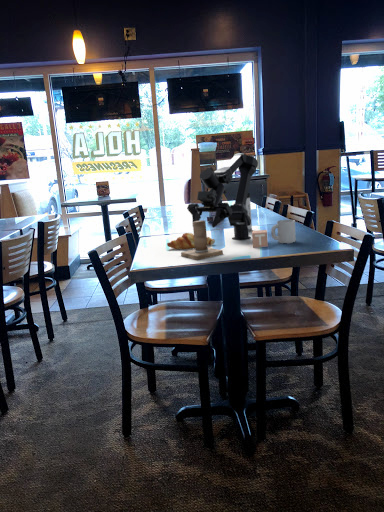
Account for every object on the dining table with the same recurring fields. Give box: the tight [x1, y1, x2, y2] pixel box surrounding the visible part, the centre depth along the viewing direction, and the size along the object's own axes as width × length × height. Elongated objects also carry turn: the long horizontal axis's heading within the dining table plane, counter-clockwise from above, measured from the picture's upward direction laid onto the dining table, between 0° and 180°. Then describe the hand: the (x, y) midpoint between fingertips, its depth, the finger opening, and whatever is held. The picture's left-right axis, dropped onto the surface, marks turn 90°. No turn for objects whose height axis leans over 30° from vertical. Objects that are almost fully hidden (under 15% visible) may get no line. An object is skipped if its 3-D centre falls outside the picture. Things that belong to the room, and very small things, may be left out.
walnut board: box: [180, 247, 224, 261], centre depth 164 cm, size 12×12×2 cm
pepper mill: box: [192, 219, 209, 253], centre depth 163 cm, size 5×5×12 cm
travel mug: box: [236, 191, 253, 232], centre depth 209 cm, size 6×7×20 cm
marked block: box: [251, 229, 269, 248], centre depth 171 cm, size 6×6×6 cm
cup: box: [270, 219, 297, 244], centre depth 173 cm, size 7×10×9 cm
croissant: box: [166, 232, 216, 250], centre depth 182 cm, size 21×10×8 cm, turn 94°
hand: (203, 226), depth 164 cm, fingers open, 9 cm apart
